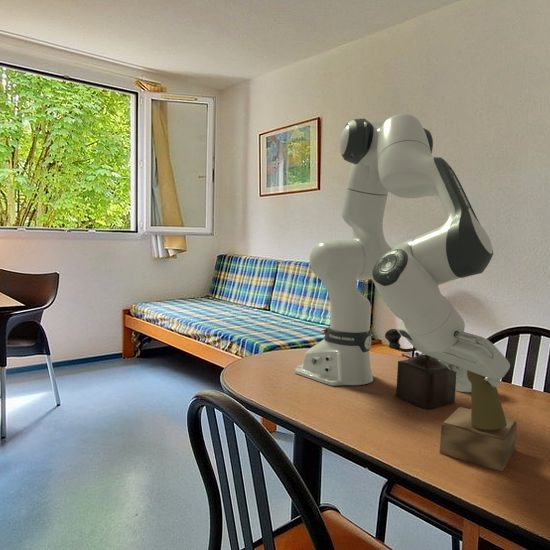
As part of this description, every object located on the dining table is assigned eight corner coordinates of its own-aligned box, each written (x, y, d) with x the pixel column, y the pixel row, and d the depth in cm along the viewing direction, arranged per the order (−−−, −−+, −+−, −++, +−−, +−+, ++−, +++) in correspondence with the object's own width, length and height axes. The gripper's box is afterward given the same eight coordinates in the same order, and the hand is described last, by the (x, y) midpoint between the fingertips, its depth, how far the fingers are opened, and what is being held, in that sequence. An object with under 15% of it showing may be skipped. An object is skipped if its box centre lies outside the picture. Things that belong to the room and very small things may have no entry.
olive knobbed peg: (514, 425, 86) (506, 364, 86) (486, 431, 84) (478, 369, 84) (491, 417, 91) (483, 360, 92) (464, 423, 90) (456, 365, 90)
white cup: (459, 382, 134) (461, 347, 133) (484, 390, 127) (487, 354, 126) (441, 386, 130) (443, 350, 129) (466, 395, 123) (469, 357, 122)
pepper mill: (420, 389, 126) (424, 323, 125) (456, 403, 117) (460, 331, 115) (378, 399, 118) (381, 328, 117) (412, 414, 109) (416, 337, 107)
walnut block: (439, 452, 90) (441, 422, 90) (456, 433, 99) (458, 405, 98) (502, 471, 84) (504, 438, 83) (514, 449, 92) (517, 419, 92)
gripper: (494, 325, 75) (533, 379, 80) (410, 305, 94) (445, 349, 99) (471, 355, 74) (511, 408, 79) (390, 328, 93) (427, 372, 98)
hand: (474, 375), depth 89 cm, fingers open, 8 cm apart
